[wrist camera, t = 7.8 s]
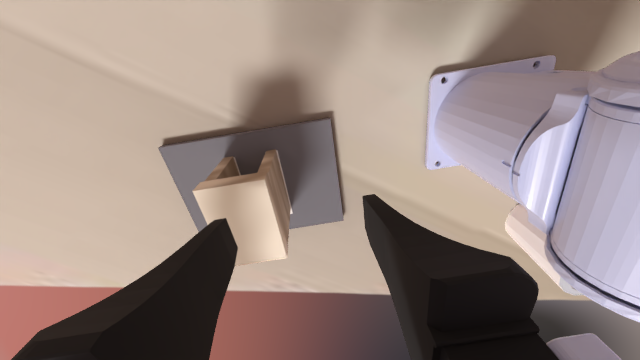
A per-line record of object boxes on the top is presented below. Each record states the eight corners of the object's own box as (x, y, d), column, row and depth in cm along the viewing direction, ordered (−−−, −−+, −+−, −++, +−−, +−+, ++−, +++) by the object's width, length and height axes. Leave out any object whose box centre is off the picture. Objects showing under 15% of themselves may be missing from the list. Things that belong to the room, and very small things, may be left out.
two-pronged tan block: (275, 146, 20) (264, 179, 14) (291, 210, 23) (287, 257, 17) (222, 155, 20) (192, 191, 14) (245, 218, 23) (227, 267, 17)
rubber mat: (329, 117, 20) (330, 119, 19) (342, 216, 24) (343, 221, 23) (162, 145, 20) (157, 148, 19) (206, 238, 24) (203, 243, 24)
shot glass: (506, 251, 28) (565, 307, 21) (492, 210, 25) (555, 261, 19) (568, 223, 26) (650, 274, 20) (560, 177, 24) (653, 219, 17)
